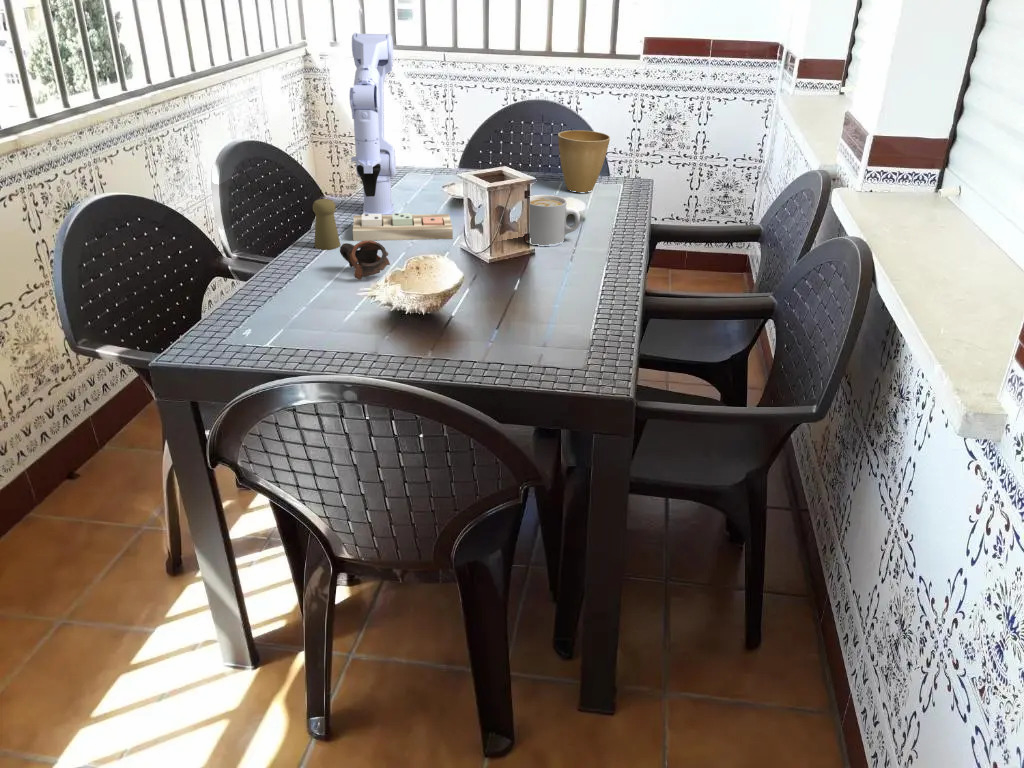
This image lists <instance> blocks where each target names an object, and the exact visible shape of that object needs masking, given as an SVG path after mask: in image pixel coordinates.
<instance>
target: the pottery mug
mask: <svg viewBox="0 0 1024 768" xmlns="http://www.w3.org/2000/svg"><path fill="white" fill-rule="evenodd" d="M379 251H381V254H382V255H381V256H379V255H378V252H379ZM339 252H340V255H341V256H342V257H343V259H344V260H345V261H347V263H348V265H349V267H350V268H354V273H353V276H354V278H355V279H357V280H358V281H361V280H362V279H363V278H366V277H370V276H373V275H376V274H379V273H381V271H383V270H385V268H386V267H387V266H390V265H391V263H390V260H389V258H388V256H389V255H390V254H389V253H388V251H387V250H386V248H385V247H384V245H383V244H381V243H380V242H377V241H376V240H368V241H359V242H357V243H356V244H354V245H353V244H352V243H349V242H345V243H342V244H341V245H340V247H339Z"/></svg>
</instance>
